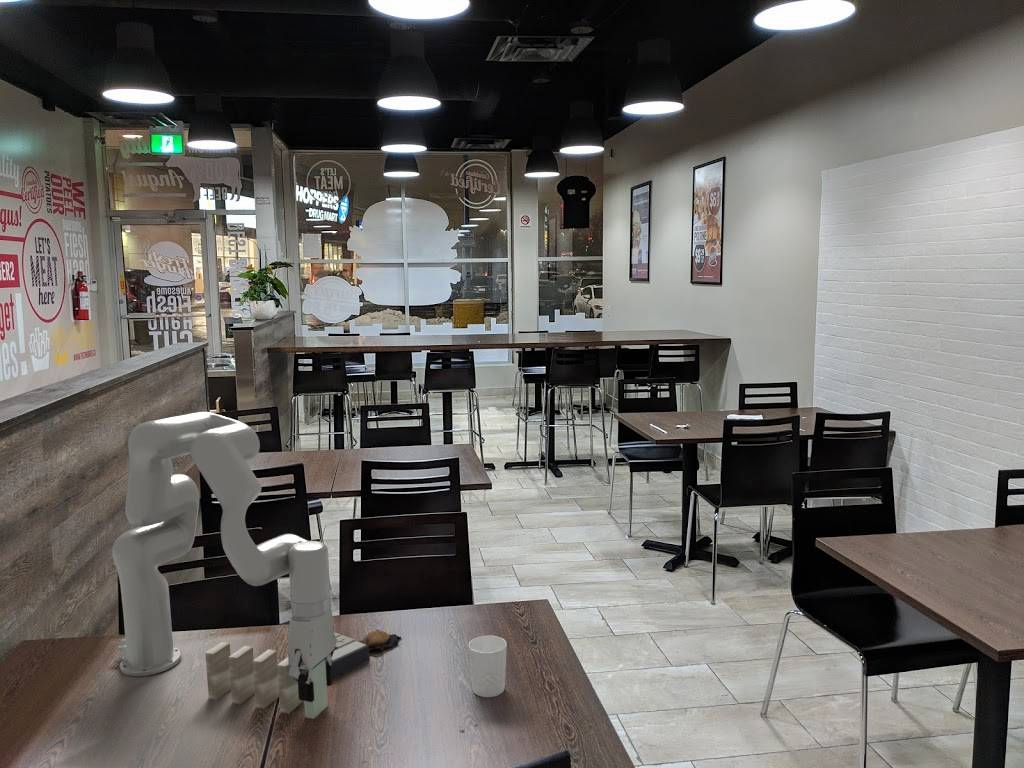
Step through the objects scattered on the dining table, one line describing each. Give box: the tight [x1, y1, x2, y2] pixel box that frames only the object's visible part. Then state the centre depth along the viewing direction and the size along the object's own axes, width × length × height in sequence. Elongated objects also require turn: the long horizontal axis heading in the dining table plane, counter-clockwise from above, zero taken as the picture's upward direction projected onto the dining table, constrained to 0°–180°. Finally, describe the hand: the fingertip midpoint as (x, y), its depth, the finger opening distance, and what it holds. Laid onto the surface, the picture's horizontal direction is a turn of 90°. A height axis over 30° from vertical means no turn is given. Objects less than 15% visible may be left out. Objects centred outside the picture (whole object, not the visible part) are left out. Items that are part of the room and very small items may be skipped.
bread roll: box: [358, 629, 403, 658], centre depth 183 cm, size 11×8×4 cm
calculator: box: [303, 632, 370, 679], centre depth 176 cm, size 11×4×15 cm
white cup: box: [468, 635, 508, 698], centre depth 161 cm, size 8×8×10 cm
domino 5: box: [302, 659, 329, 720], centre depth 154 cm, size 2×5×10 cm, turn 161°
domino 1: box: [205, 641, 232, 701], centre depth 162 cm, size 2×5×10 cm, turn 161°
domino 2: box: [229, 645, 255, 705], centre depth 160 cm, size 2×5×10 cm, turn 161°
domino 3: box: [253, 649, 279, 710], centre depth 158 cm, size 2×5×10 cm, turn 161°
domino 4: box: [277, 656, 304, 715], centre depth 156 cm, size 2×5×10 cm, turn 161°
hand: (315, 691), depth 154 cm, fingers open, 5 cm apart
